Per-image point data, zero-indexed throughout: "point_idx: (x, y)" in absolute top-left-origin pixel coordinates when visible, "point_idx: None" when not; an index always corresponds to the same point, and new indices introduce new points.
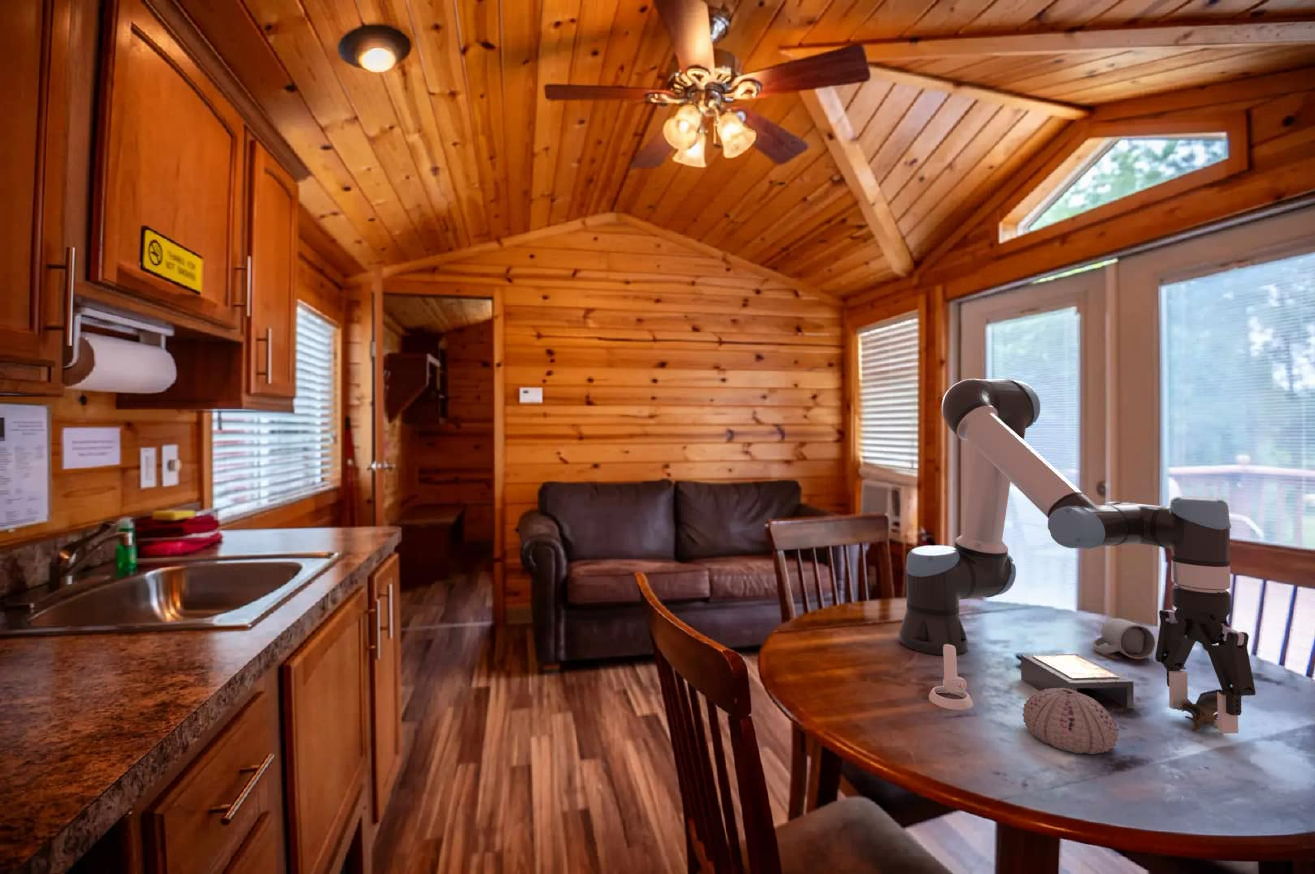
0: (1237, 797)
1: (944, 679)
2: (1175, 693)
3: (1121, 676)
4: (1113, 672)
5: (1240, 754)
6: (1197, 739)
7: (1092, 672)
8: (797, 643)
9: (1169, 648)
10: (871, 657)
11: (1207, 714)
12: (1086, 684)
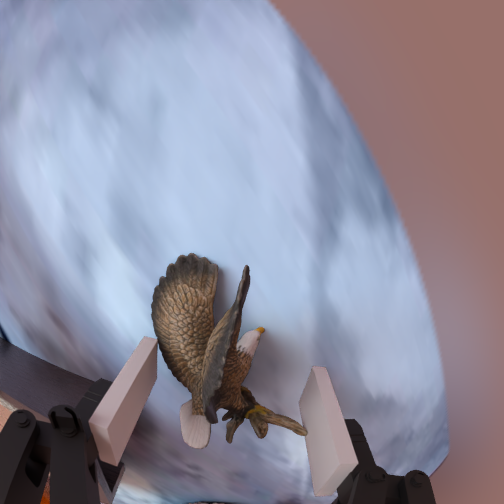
0: (396, 470)
1: None
2: (141, 405)
3: (50, 422)
4: (28, 410)
5: (349, 389)
6: (271, 410)
7: None
8: None
9: (26, 489)
10: None
11: (240, 382)
12: (106, 491)
